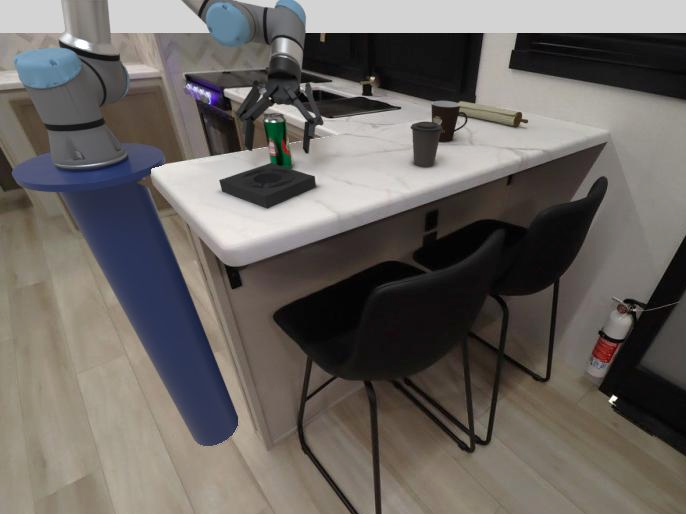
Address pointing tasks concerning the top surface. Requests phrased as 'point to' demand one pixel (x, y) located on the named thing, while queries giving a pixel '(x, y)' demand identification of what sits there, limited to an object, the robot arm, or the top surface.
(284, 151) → the soda can
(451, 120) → the coffee mug
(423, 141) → the coffee cup
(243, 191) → the socket pad
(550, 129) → the top surface
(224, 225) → the top surface
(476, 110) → the rolling pin
